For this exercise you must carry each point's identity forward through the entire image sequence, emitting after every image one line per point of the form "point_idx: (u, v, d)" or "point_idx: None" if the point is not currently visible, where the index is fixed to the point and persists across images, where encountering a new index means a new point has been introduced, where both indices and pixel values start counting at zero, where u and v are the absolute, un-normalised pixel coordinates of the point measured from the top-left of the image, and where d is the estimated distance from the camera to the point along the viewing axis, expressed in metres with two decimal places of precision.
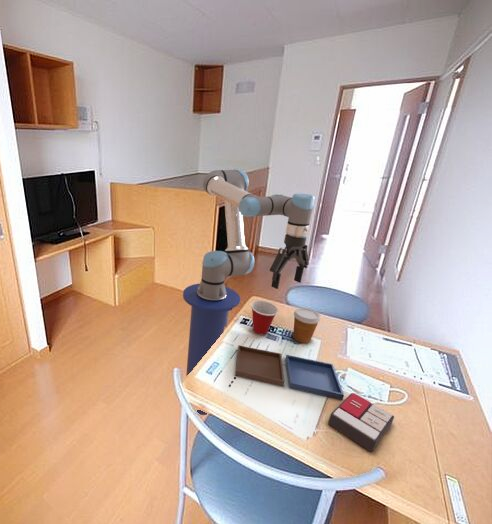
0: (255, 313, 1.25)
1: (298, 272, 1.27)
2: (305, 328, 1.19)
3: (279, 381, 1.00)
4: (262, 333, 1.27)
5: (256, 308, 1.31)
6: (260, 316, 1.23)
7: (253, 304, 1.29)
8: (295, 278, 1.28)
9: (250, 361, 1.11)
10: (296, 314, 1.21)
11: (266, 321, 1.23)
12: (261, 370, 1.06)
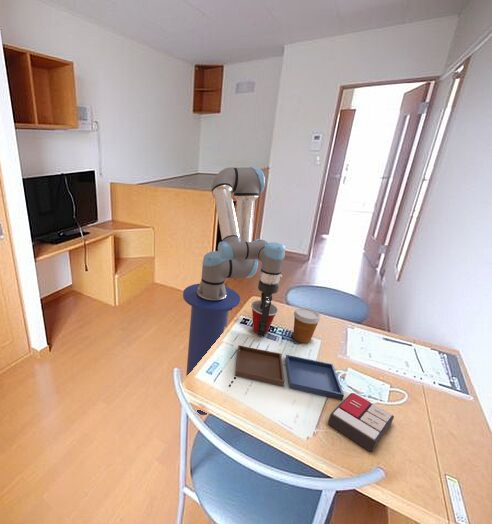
0: (255, 313, 1.25)
1: None
2: (305, 328, 1.19)
3: (279, 381, 1.00)
4: None
5: (256, 308, 1.31)
6: (260, 316, 1.23)
7: (253, 304, 1.29)
8: None
9: (250, 361, 1.11)
10: (296, 314, 1.21)
11: None
12: (261, 370, 1.06)
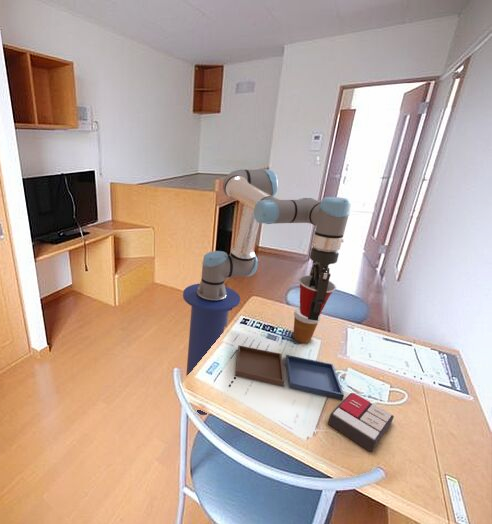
0: (306, 290, 0.97)
1: None
2: (305, 328, 1.19)
3: (279, 381, 1.00)
4: None
5: (304, 285, 1.03)
6: (313, 294, 0.96)
7: (301, 280, 1.01)
8: None
9: (250, 361, 1.11)
10: (296, 314, 1.21)
11: None
12: (261, 370, 1.06)
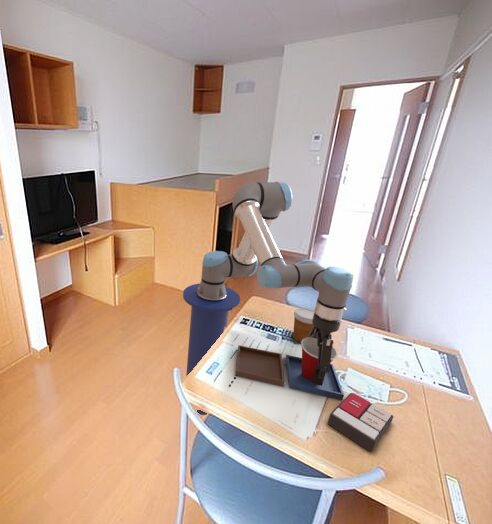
0: (308, 356, 0.99)
1: None
2: (305, 328, 1.19)
3: (279, 381, 1.00)
4: None
5: (306, 347, 1.05)
6: (315, 360, 0.97)
7: (303, 342, 1.03)
8: None
9: (250, 361, 1.11)
10: (296, 314, 1.21)
11: None
12: (261, 370, 1.06)
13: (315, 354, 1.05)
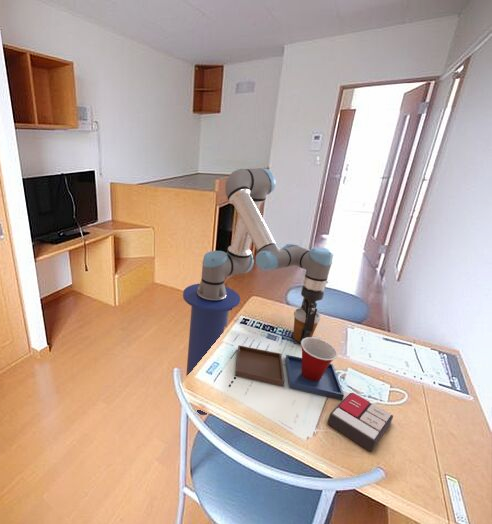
0: (308, 356, 0.99)
1: None
2: None
3: (279, 381, 1.00)
4: (315, 380, 1.01)
5: (306, 347, 1.05)
6: (315, 360, 0.97)
7: (303, 342, 1.03)
8: None
9: (250, 361, 1.11)
10: (296, 314, 1.21)
11: (322, 366, 0.98)
12: (261, 370, 1.06)
13: (315, 354, 1.05)
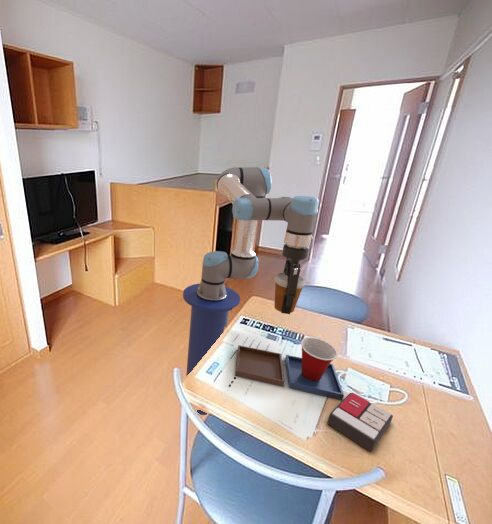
0: (308, 356, 0.99)
1: None
2: None
3: (279, 381, 1.00)
4: (315, 380, 1.01)
5: (306, 347, 1.05)
6: (315, 360, 0.97)
7: (303, 342, 1.03)
8: None
9: (250, 361, 1.11)
10: (277, 278, 1.02)
11: (322, 366, 0.98)
12: (261, 370, 1.06)
13: (315, 354, 1.05)
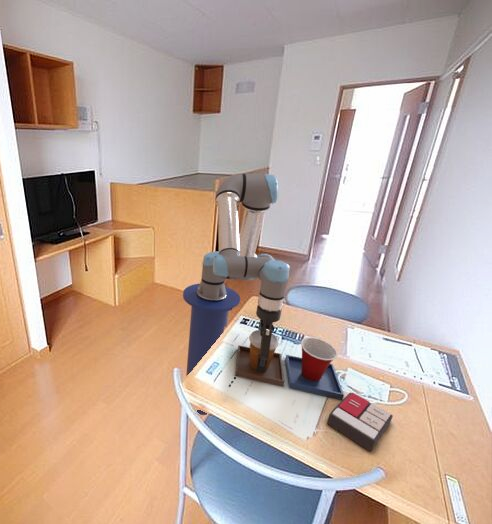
0: (308, 356, 0.99)
1: None
2: None
3: (279, 381, 1.00)
4: (315, 380, 1.01)
5: (306, 347, 1.05)
6: (315, 360, 0.97)
7: (303, 342, 1.03)
8: None
9: None
10: (251, 338, 1.05)
11: (322, 366, 0.98)
12: None
13: (315, 354, 1.05)
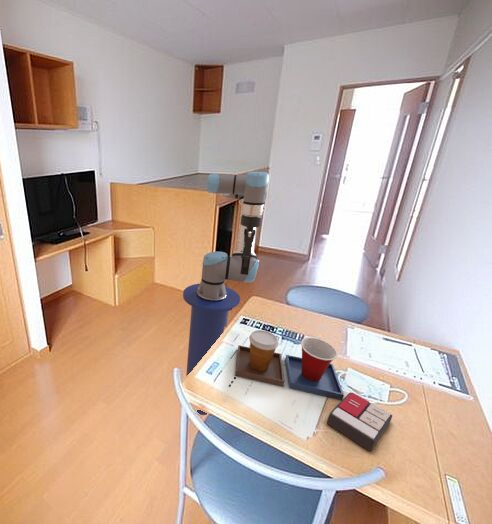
0: (308, 356, 0.99)
1: None
2: (261, 355, 1.03)
3: (279, 381, 1.00)
4: (315, 380, 1.01)
5: (306, 347, 1.05)
6: (315, 360, 0.97)
7: (303, 342, 1.03)
8: None
9: None
10: (251, 338, 1.05)
11: (322, 366, 0.98)
12: None
13: (315, 354, 1.05)
